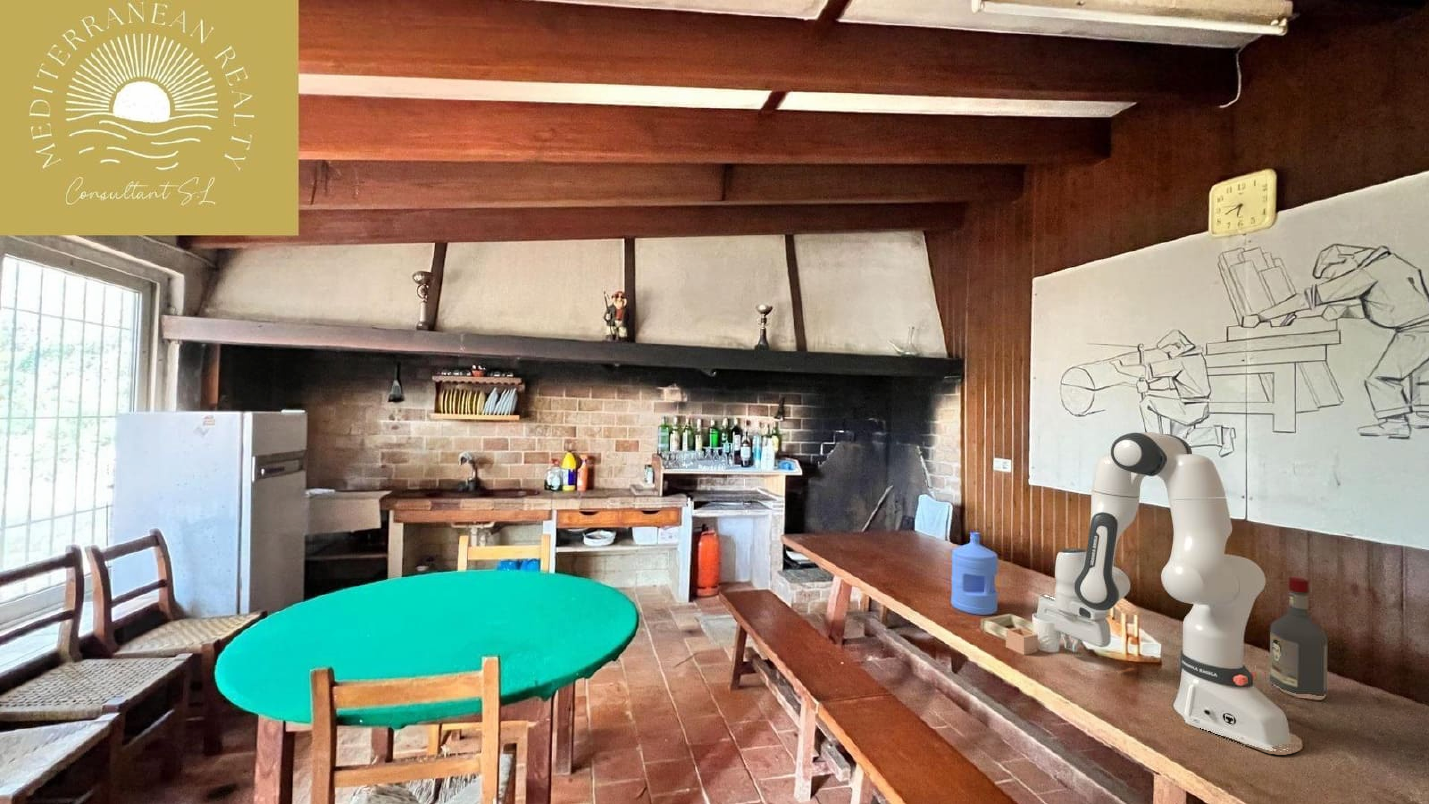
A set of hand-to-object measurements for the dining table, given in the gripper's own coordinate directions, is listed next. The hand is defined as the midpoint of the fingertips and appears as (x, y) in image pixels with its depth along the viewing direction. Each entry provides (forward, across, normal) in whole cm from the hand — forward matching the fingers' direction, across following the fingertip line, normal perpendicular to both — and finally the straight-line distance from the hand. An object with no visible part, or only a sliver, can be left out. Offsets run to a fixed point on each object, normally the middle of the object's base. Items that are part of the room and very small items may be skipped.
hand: (1071, 649), depth 166 cm
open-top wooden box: (+3, -10, -8) cm, 13 cm away
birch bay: (+3, -19, 0) cm, 19 cm away
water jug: (+4, -43, +9) cm, 44 cm away
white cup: (+3, -8, 0) cm, 8 cm away
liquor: (+3, +35, +39) cm, 53 cm away
